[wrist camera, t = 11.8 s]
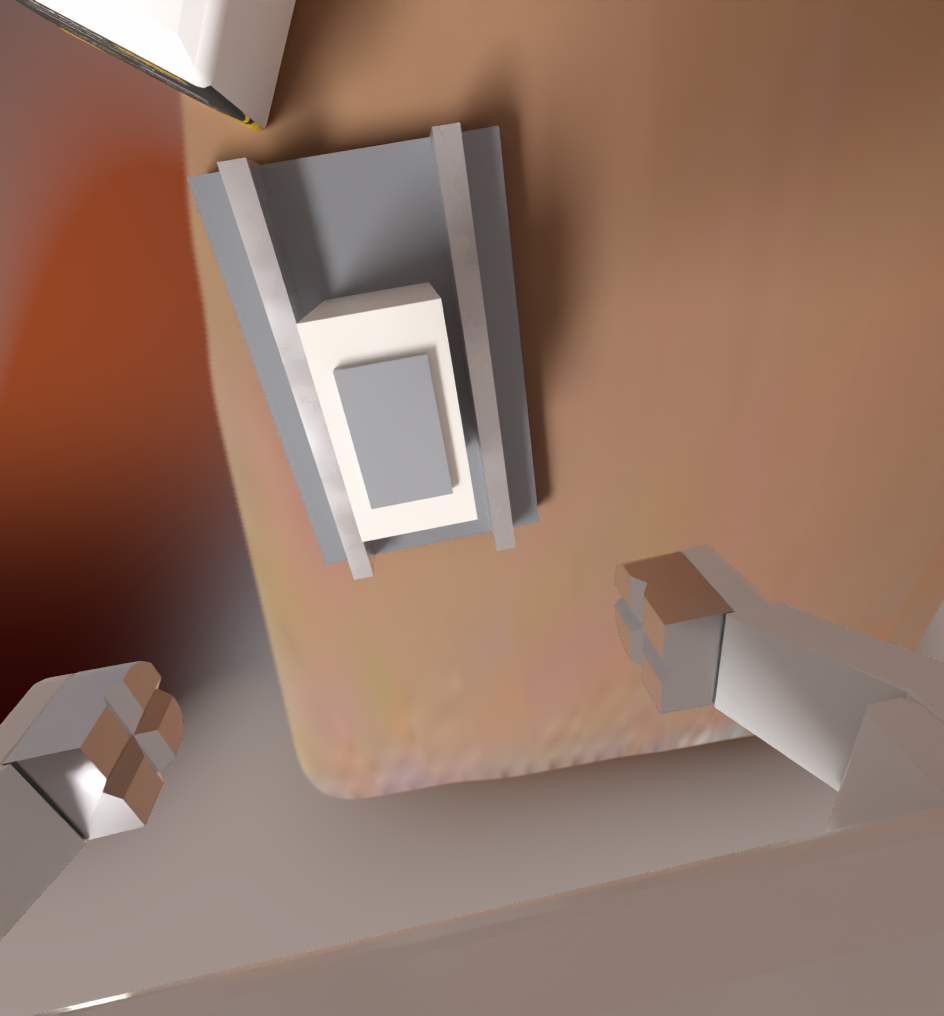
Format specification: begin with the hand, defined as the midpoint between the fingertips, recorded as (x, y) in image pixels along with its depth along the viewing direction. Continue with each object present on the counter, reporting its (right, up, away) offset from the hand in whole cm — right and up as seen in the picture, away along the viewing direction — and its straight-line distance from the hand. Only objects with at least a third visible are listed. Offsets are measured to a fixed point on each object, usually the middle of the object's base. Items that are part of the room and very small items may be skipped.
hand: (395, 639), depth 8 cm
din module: (-2, +8, +15) cm, 17 cm away
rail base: (-2, +9, +16) cm, 19 cm away
